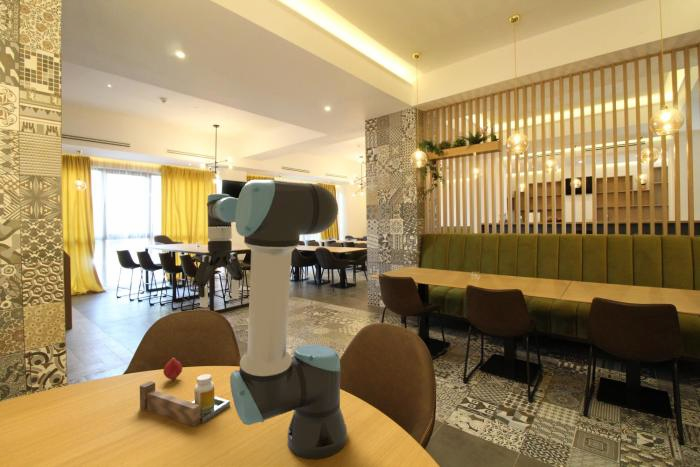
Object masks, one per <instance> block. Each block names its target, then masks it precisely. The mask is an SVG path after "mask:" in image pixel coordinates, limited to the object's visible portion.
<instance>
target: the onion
mask: <svg viewBox="0 0 700 467" xmlns="http://www.w3.org/2000/svg"><path fill="white" fill-rule="evenodd" d="M182 372H183V365H182V364H181V362H180V361H179V360H177V359H176V358H175V357H172V358H171V359H170V360H169V361H168V362H167V363H166V364H165V366H164V367H163V375H164V376H165V378H166V379H168V380H171V381H175V380H176V379H177V378H179V376H180V375H181V374H182Z"/></svg>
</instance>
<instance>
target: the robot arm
mask: <svg viewBox="0 0 700 467" xmlns="http://www.w3.org/2000/svg"><path fill="white" fill-rule="evenodd" d="M244 184H245V185H244V186H243V187H242V188H241V191H240V192H239V196H238V198H236V197H233V196H231V194H230V195H229V194H227V193H209V194H208V195H207V200H206V202H207V203H206V208H207V211H206V212H207V239H208V241H207V251H208V253H209V254H208V255H201V256H200V262H199V265H198V267H197V270H196V273H195V275H194V277H193V279H192V280H193V281H192V283H191V284H192V286H194V287H197V295H198V298H199V307H200V308H208V307H209V298H208V296H209V295H208V294H209V291H208V288H209V287H208V286H207V284H208V282H209V281H210V279H211V278H212V276H213V274H214V272H215V271H216V270H217V269H220V268H225V269H226V271H227V272H228V273H229V275H230V276H231V278H232V279H231V299H234V300H235V299H236V300H238V299H239V300H240V288H241V287H240V286H241V283H240V282H241V280H243V278H245V273H244V271H243V269H242V266H241V263H240V261H239V255H238V253H237V252H231V251H232V250H233V249H232V248H233V247H232V246H233V244H232V240H231V239H232V237H233V234H232V231H233V230H232V223H235V230H236V232H237V234H238V235H239V236H242V237H243V238H244V240H243V241H244V244H245V245H246V247H247V248H248V249H249V250H250V251H251V254H250V274H249V275H250V276H249V278H250V279H249V299H248V300H249V301H248V303H249V305H248V306H249V307H248V329H247V349H246V350H247V352H246V353H245V354H243V356H241V359H240V360H239V369H238V370H234V371H232V372H231V373H230V377H229V384H230V393H231V396H232V400H233V405H234V408H235V412H236V413H237V414H236V415H237V416H238V418H239V420H240V421H241V422H242V424H244V425H246V426H247V425H248V426H250V425H253V424H254V425H255V424H258V423H263V422H265V421H266V420H267V421H268V420H269V419H272V418H275V417H277V416H280V415H283V414H286V413H290V412H292V411H293V414H292V417H291V420H290V424H289V426H288V430H287V446H288V448H289V450H291V452H292V453H294V454H295V455H297V456H299V457H302V458H305V459H314V460H315V459H324V458H327V457H331V456H333V455H335V454H337V453H339V452H340V451H341V450H342V449H343V448H344V447H345V445H346V443H347V439H348V428H347V424H346V422H345V418H344V415H343V412H342V409H341V370H342V369H341V363H340V362H341V360H340V355H339V353H338V352H337V351H336V350H335V349H333V348H332V347H328V346H325V345H321V344H302V345H299V346H297V347H295V349H294V351H293V353H292V354H293V356H292V355H291V354H290V353H289V352H288V351H287V342H288V341H287V340H288V324H289V322H288V321H289V305H290V304H289V303H290V291H291V290H290V287H291V274H292V273H291V269H292V255H293V251H294V250H295V249H297V247H299V245H300V238H301V237H300V236H302V235H303V236H306V235H307V236H308V235H315V234H320V233H323V232H324V231H327V230H329V229H330V228H331V227H332V226H333V225H334V223H335V222H336V220H337V218H338V215H339V204H338V201H337V199H336V197H335V195H334V194H333V193H332V191H330V190H329V189H328V188H326V187H324V186H322V185H320V184H316V183H311V182H309V183H306V182H305V183H304V182H297V181H296V182H295V181H294V182H293V181H284V180H273V179H270V178H269V179H252V180H250V181H247V182H246V183H244Z"/></svg>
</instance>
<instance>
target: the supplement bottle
mask: <svg viewBox="0 0 700 467" xmlns="http://www.w3.org/2000/svg"><path fill="white" fill-rule="evenodd" d="M212 377H213V376H212V375H211V374H209V373H205V374H200V375H199V376H197V378H196V384H195V386H194V391H193V392H194V400H195V404H198V405H200V414H204V413H208V412H210V411H211V410H213V409H214V406H215V403H214V396H215V383H214V382H213V381H212V380H213V379H212Z"/></svg>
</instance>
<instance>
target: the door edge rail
mask: <svg viewBox="0 0 700 467" xmlns="http://www.w3.org/2000/svg"><path fill="white" fill-rule="evenodd" d="M192 402H193V401H188V400H186V399H182V398H179V397H176V396H172V395H170V394H166V393H164V392H160V391H157V390H156V382H154V381H151V380H149V381H147V382H145V383H143V384H140V385H139V409H140V410H141V411H142V410H143V411H150V412H152V413H155V414H158V415H160V416H162V417H166V418H169V419H171V420H175V421H177V422H180V423H182V424H186V425H188V426H190V427H193V428H195V427H196V426H198V425H200V424H201V423H200V405H198V404H195V403H192Z"/></svg>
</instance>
